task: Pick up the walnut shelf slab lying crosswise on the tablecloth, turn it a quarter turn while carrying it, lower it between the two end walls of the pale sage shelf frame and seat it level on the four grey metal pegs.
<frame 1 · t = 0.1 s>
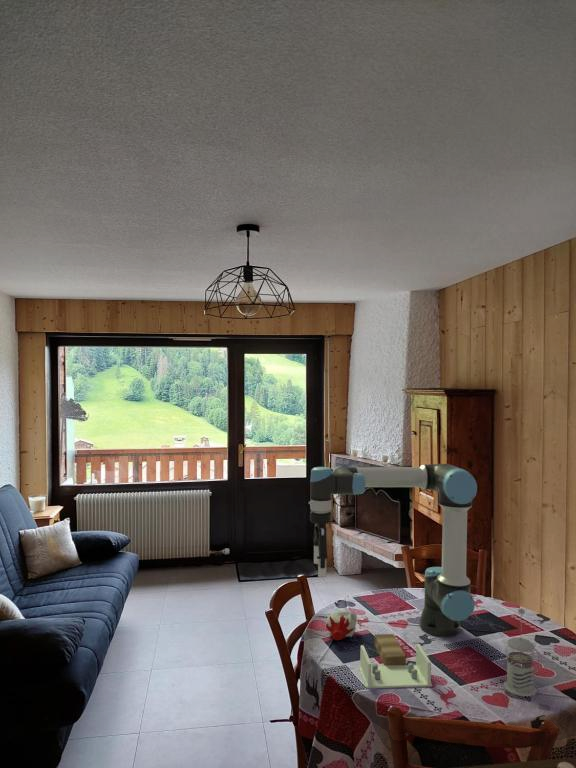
hand: (319, 570, 198), 28 cm above the table, fingers open, 13 cm apart
shelf frame: (394, 676, 179), on the table
french press: (522, 688, 174), on the table
brown long block: (389, 656, 193), on the table
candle: (340, 637, 206), on the table
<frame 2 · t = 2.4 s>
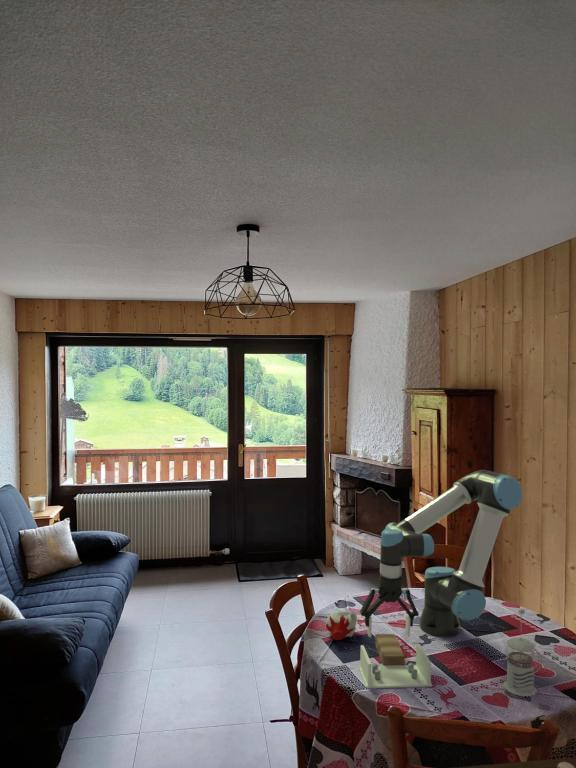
hand: (388, 635, 193), 7 cm above the table, fingers open, 13 cm apart
nothing on the table moved.
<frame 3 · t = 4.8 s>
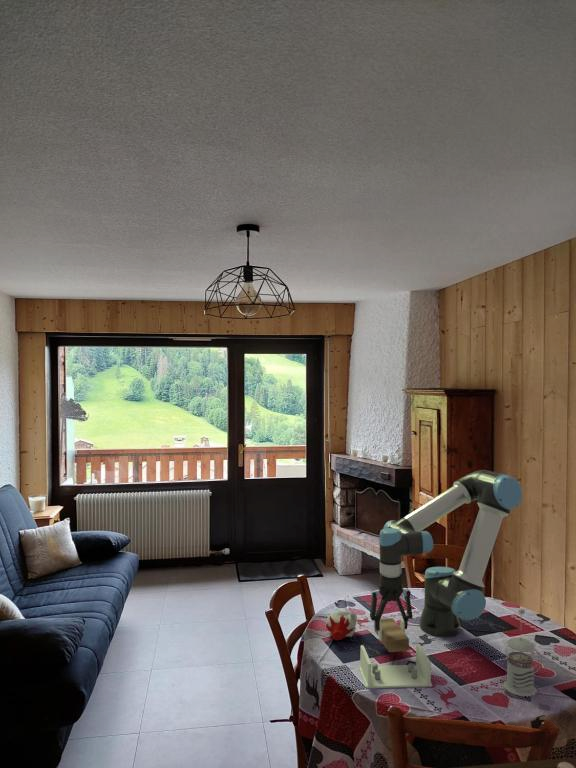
hand: (391, 638, 193), 6 cm above the table, fingers closed on brown long block, 7 cm apart
brown long block: (391, 640, 194), point 5 cm above the table, touching gripper
everything else where it was.
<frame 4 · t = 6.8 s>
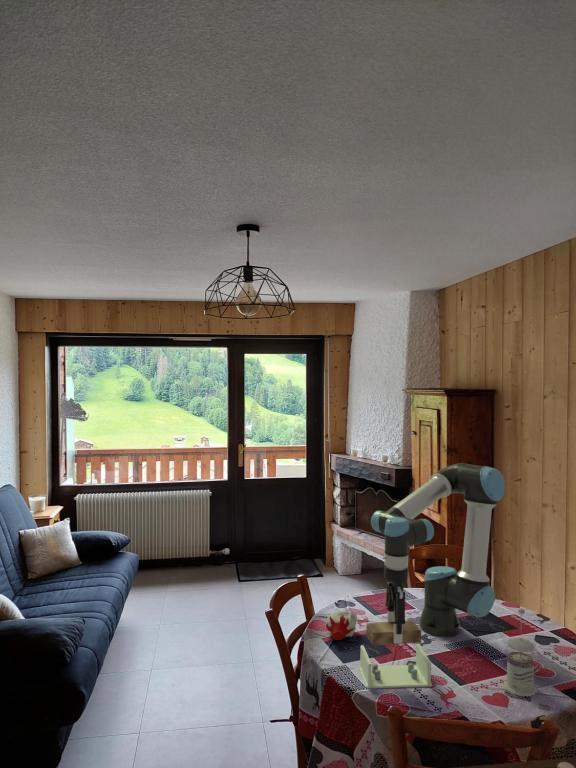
hand: (394, 637, 179), 13 cm above the table, fingers closed on brown long block, 7 cm apart
brown long block: (393, 639, 179), point 12 cm above the table, touching gripper
everything else where it was.
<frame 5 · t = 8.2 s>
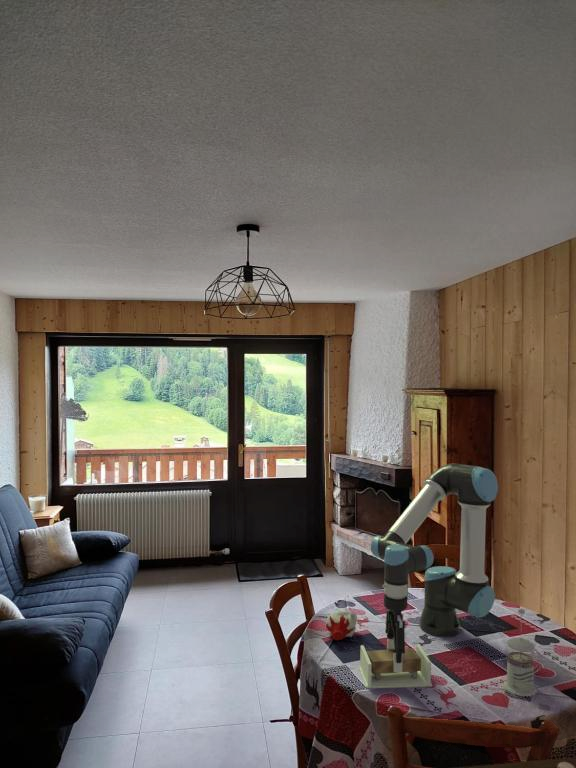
hand: (394, 664, 179), 4 cm above the table, fingers closed on brown long block, 7 cm apart
brown long block: (393, 667, 179), point 3 cm above the table, touching gripper
everything else where it was.
when the fingers open (3 cm above the table, at t = 8.8 s): brown long block stays where it is, resting on shelf frame.
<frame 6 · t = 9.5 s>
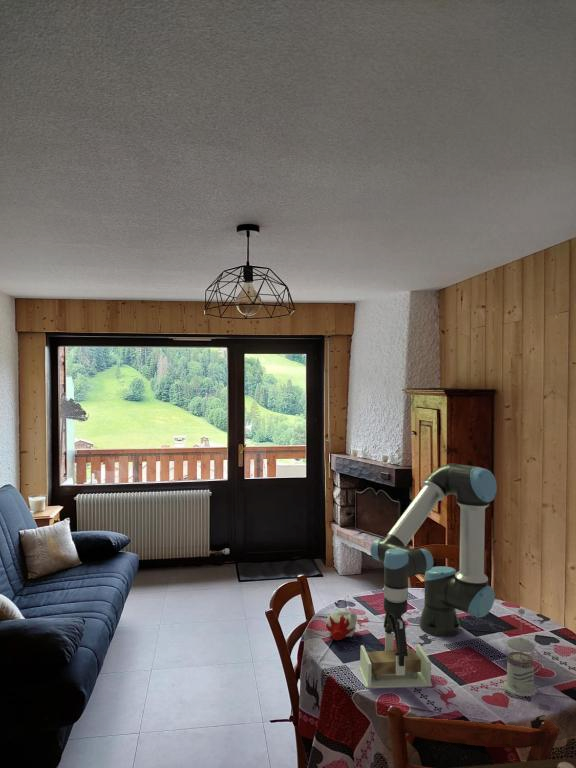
hand: (394, 663, 179), 4 cm above the table, fingers open, 13 cm apart
brown long block: (393, 668, 179), point 3 cm above the table, touching shelf frame
everything else where it was.
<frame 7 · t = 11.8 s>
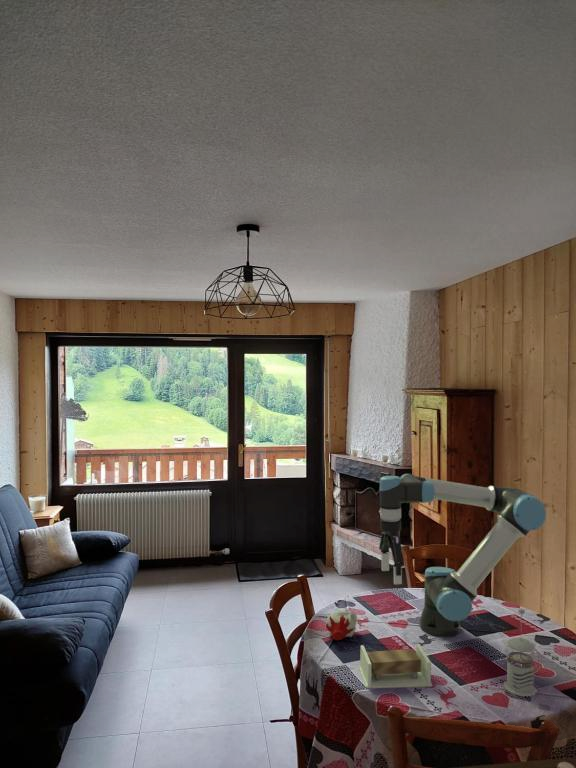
hand: (391, 577, 201), 24 cm above the table, fingers open, 13 cm apart
nothing on the table moved.
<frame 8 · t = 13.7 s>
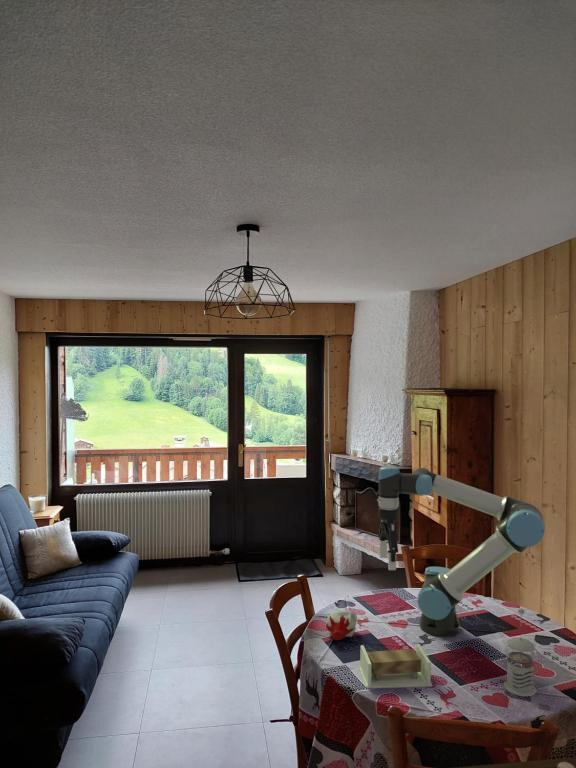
hand: (387, 563, 209), 27 cm above the table, fingers open, 13 cm apart
nothing on the table moved.
at the end: brown long block 0.5 cm off-centre on the shelf frame, point 3.0 cm above the shelf frame's base; brown long block tilted 0°; the gripper is holding nothing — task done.
